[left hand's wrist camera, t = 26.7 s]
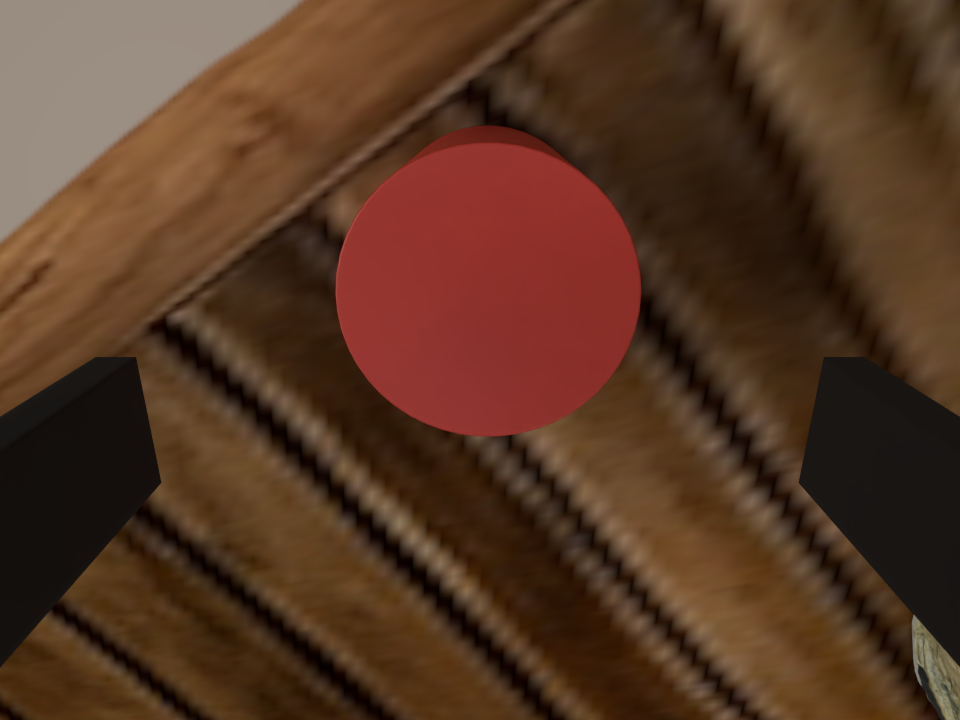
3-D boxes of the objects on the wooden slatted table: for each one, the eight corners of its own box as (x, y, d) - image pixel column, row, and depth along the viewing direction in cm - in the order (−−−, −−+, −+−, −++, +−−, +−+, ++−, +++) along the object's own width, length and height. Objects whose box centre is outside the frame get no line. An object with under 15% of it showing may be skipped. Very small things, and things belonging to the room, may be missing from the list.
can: (386, 322, 28) (338, 428, 19) (387, 118, 25) (330, 131, 16) (576, 333, 28) (618, 445, 19) (601, 132, 25) (666, 153, 16)
